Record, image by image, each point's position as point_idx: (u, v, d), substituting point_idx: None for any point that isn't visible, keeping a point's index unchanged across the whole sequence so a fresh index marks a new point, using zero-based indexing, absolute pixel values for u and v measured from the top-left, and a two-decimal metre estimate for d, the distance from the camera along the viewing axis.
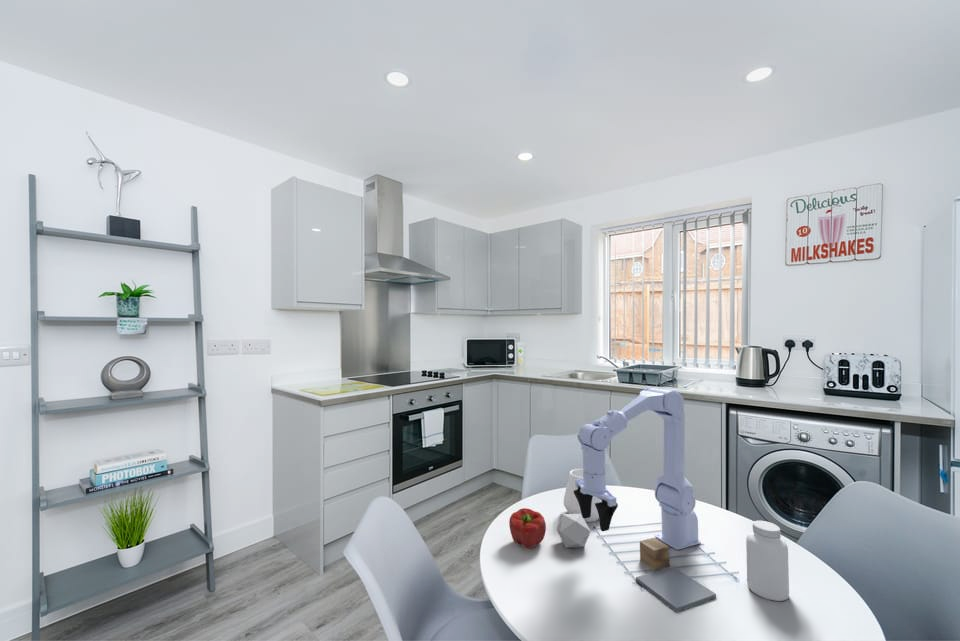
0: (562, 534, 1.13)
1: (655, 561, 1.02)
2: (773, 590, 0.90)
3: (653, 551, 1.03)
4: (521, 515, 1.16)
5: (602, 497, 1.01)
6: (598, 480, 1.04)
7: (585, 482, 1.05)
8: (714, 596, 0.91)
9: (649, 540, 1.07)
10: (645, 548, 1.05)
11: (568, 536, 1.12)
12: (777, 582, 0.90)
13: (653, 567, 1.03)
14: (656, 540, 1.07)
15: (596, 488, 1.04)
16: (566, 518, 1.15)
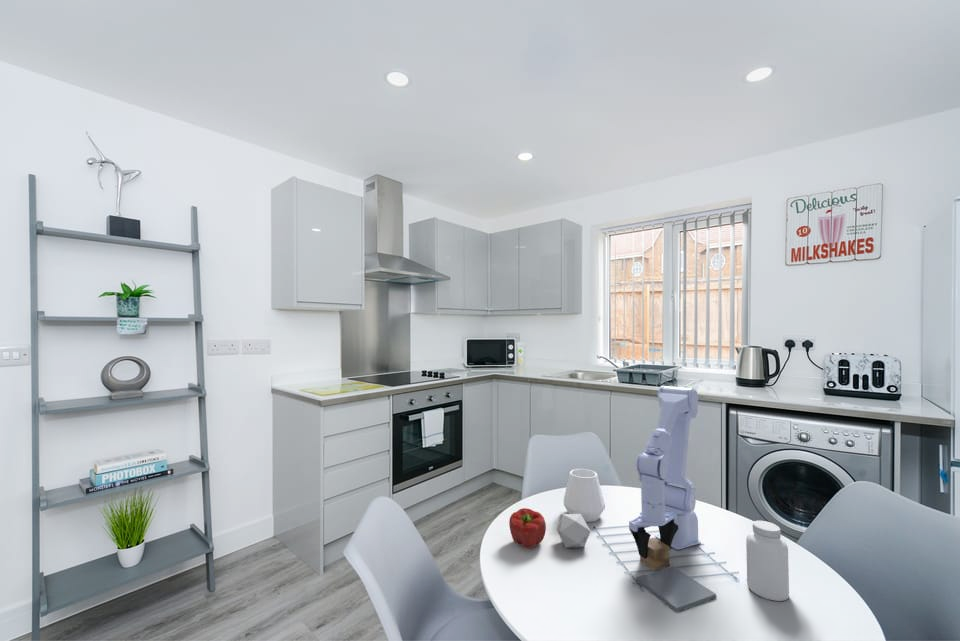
0: (562, 534, 1.13)
1: (655, 561, 1.02)
2: (773, 590, 0.90)
3: (653, 551, 1.03)
4: (521, 515, 1.16)
5: None
6: (642, 506, 1.06)
7: None
8: (714, 596, 0.91)
9: (649, 540, 1.07)
10: None
11: (568, 536, 1.12)
12: (777, 582, 0.90)
13: (653, 567, 1.03)
14: (656, 540, 1.07)
15: (642, 513, 1.06)
16: (566, 518, 1.15)
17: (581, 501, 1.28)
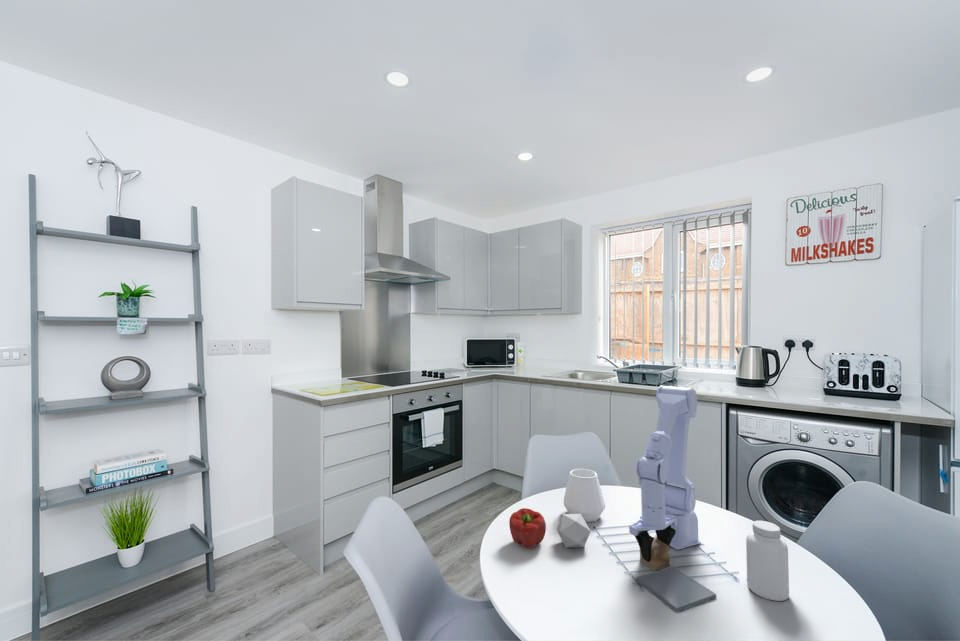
0: (562, 534, 1.13)
1: (655, 561, 1.02)
2: (773, 590, 0.90)
3: (653, 551, 1.03)
4: (521, 515, 1.16)
5: None
6: (643, 510, 1.06)
7: None
8: (714, 596, 0.91)
9: None
10: None
11: (568, 536, 1.12)
12: (777, 582, 0.90)
13: (653, 567, 1.03)
14: (656, 540, 1.07)
15: (642, 517, 1.06)
16: (566, 518, 1.15)
17: (581, 501, 1.28)
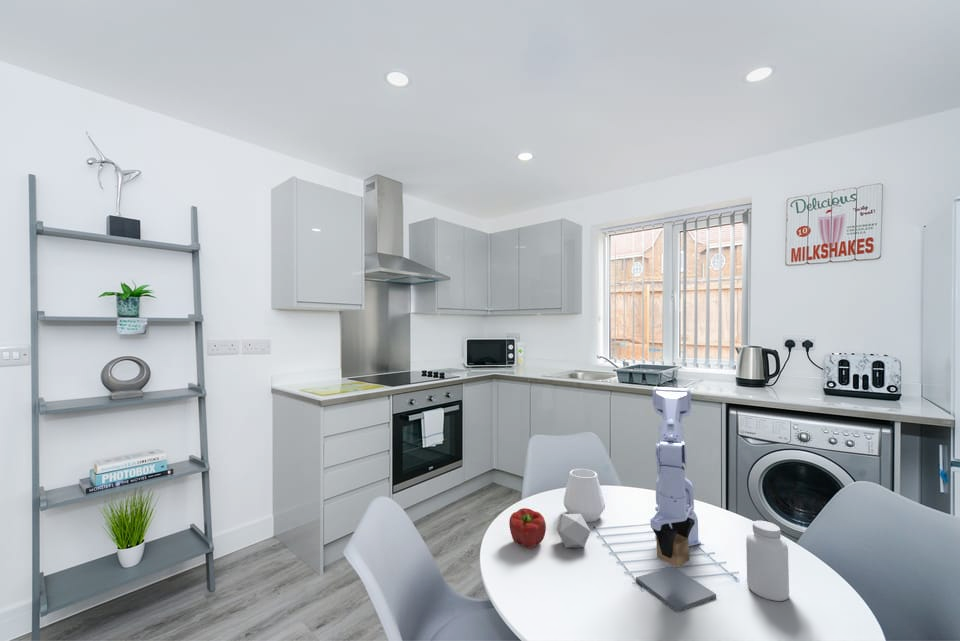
0: (562, 534, 1.13)
1: (677, 557, 0.92)
2: (773, 590, 0.90)
3: (675, 546, 0.92)
4: (521, 515, 1.16)
5: None
6: (662, 501, 0.95)
7: None
8: (714, 596, 0.91)
9: None
10: None
11: (568, 536, 1.12)
12: (777, 582, 0.90)
13: (675, 564, 0.92)
14: None
15: (661, 509, 0.95)
16: (566, 518, 1.15)
17: (581, 501, 1.28)
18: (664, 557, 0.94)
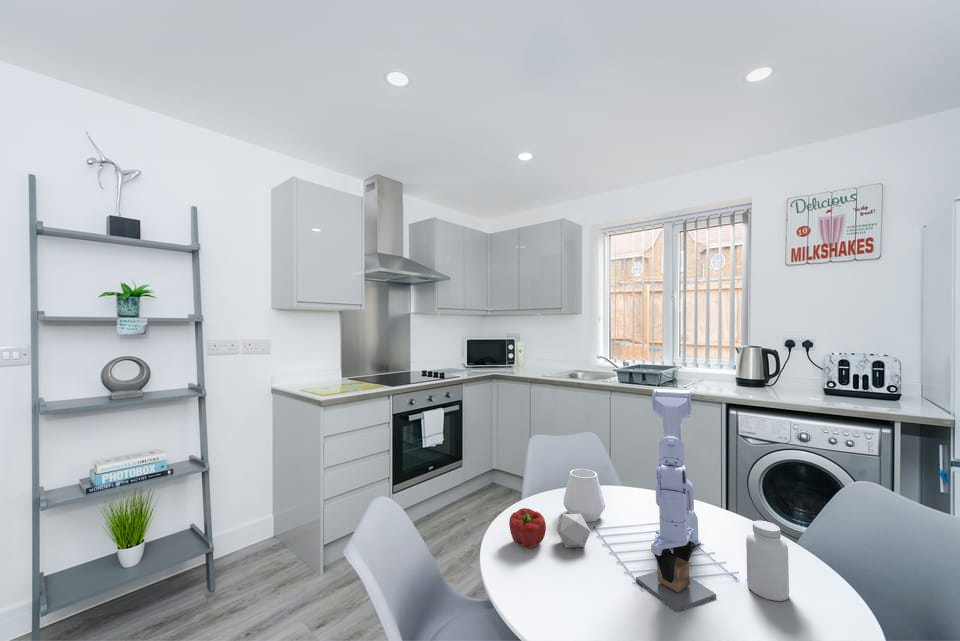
0: (562, 534, 1.13)
1: (678, 581, 0.92)
2: (773, 590, 0.90)
3: (675, 570, 0.92)
4: (521, 515, 1.16)
5: None
6: (663, 525, 0.94)
7: None
8: (714, 596, 0.91)
9: None
10: None
11: (568, 536, 1.12)
12: (777, 582, 0.90)
13: (676, 588, 0.92)
14: None
15: (661, 532, 0.95)
16: (566, 518, 1.15)
17: (581, 501, 1.28)
18: (665, 581, 0.94)
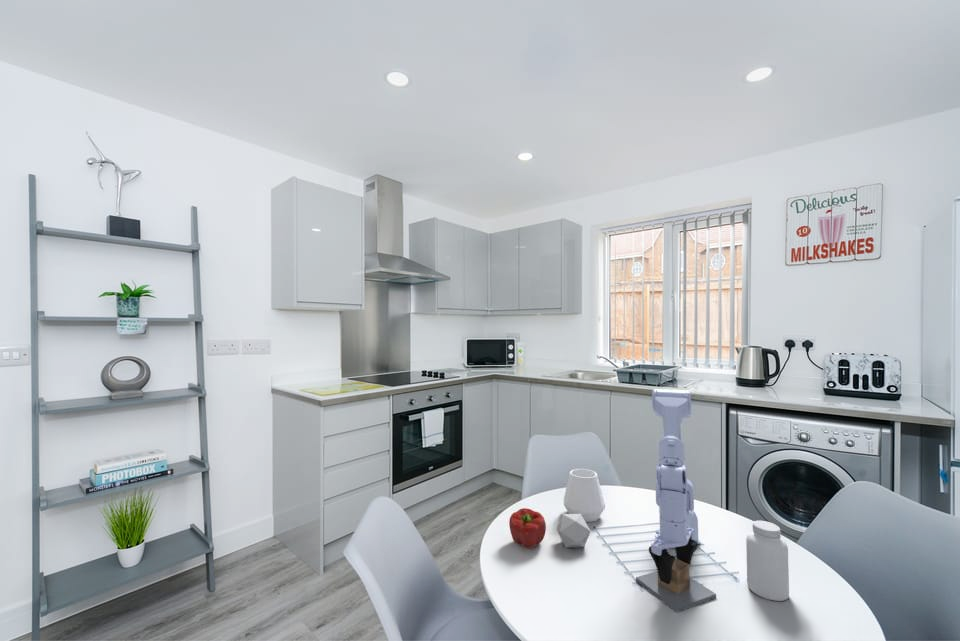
0: (562, 534, 1.13)
1: (678, 584, 0.92)
2: (773, 590, 0.90)
3: (676, 572, 0.92)
4: (521, 515, 1.16)
5: None
6: (663, 525, 0.94)
7: None
8: (714, 596, 0.91)
9: None
10: None
11: (568, 536, 1.12)
12: (777, 582, 0.90)
13: (676, 590, 0.92)
14: None
15: (661, 532, 0.95)
16: (566, 518, 1.15)
17: (581, 501, 1.28)
18: (665, 583, 0.94)
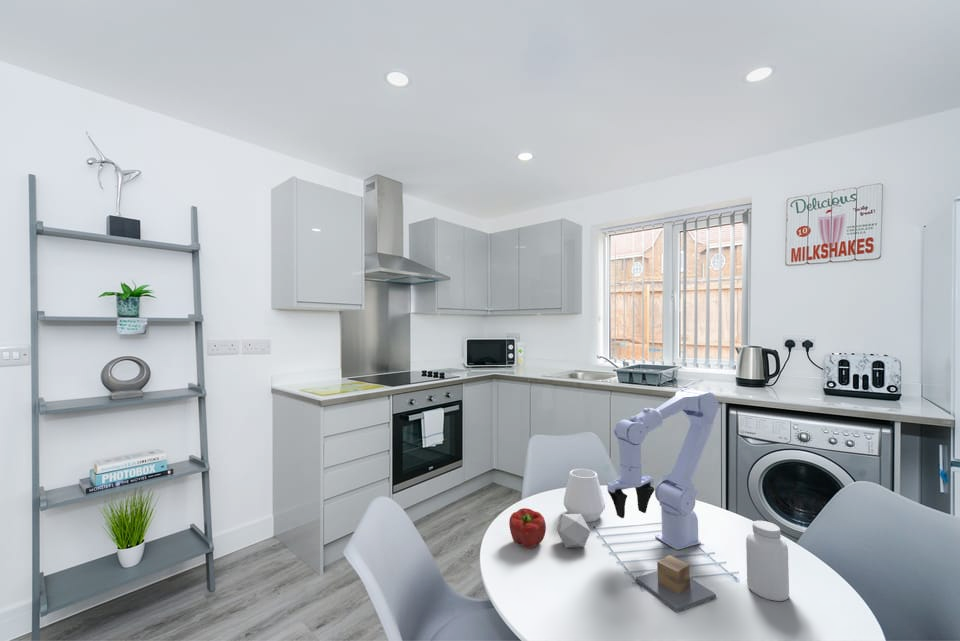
0: (562, 534, 1.13)
1: (678, 584, 0.92)
2: (773, 590, 0.90)
3: (676, 572, 0.92)
4: (521, 515, 1.16)
5: None
6: (620, 470, 1.12)
7: None
8: (714, 596, 0.91)
9: (666, 559, 0.97)
10: (665, 569, 0.94)
11: (568, 536, 1.12)
12: (777, 582, 0.90)
13: (676, 590, 0.92)
14: (673, 558, 0.97)
15: (620, 476, 1.12)
16: (566, 518, 1.15)
17: (581, 501, 1.28)
18: (665, 583, 0.94)
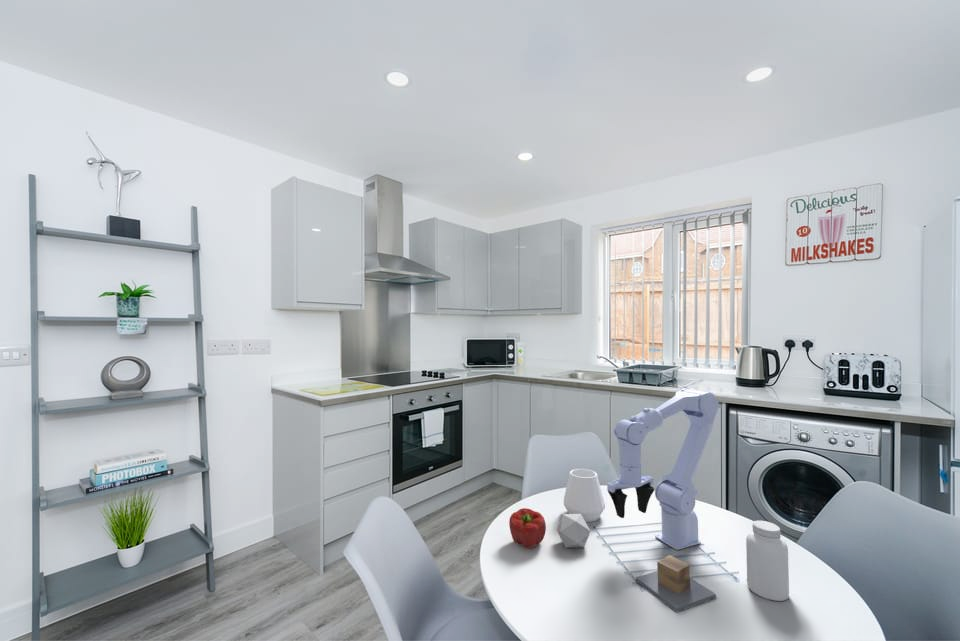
0: (562, 534, 1.13)
1: (678, 584, 0.92)
2: (773, 590, 0.90)
3: (676, 572, 0.92)
4: (521, 515, 1.16)
5: None
6: (620, 470, 1.12)
7: None
8: (714, 596, 0.91)
9: (666, 559, 0.97)
10: (665, 569, 0.94)
11: (568, 536, 1.12)
12: (777, 582, 0.90)
13: (676, 590, 0.92)
14: (673, 558, 0.97)
15: (620, 476, 1.12)
16: (566, 518, 1.15)
17: (581, 501, 1.28)
18: (665, 583, 0.94)
